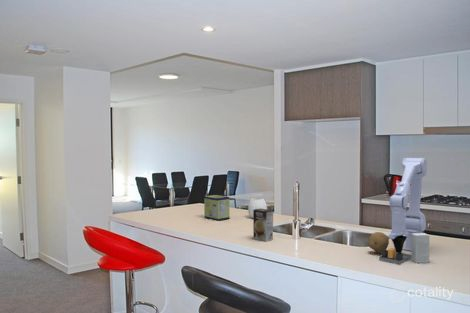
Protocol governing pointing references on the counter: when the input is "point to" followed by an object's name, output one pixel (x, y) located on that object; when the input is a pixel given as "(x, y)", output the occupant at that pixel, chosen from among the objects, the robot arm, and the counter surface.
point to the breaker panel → (398, 259)
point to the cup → (256, 205)
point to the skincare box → (420, 247)
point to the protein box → (216, 207)
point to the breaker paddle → (391, 253)
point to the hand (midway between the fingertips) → (398, 252)
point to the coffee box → (263, 224)
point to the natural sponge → (378, 242)
